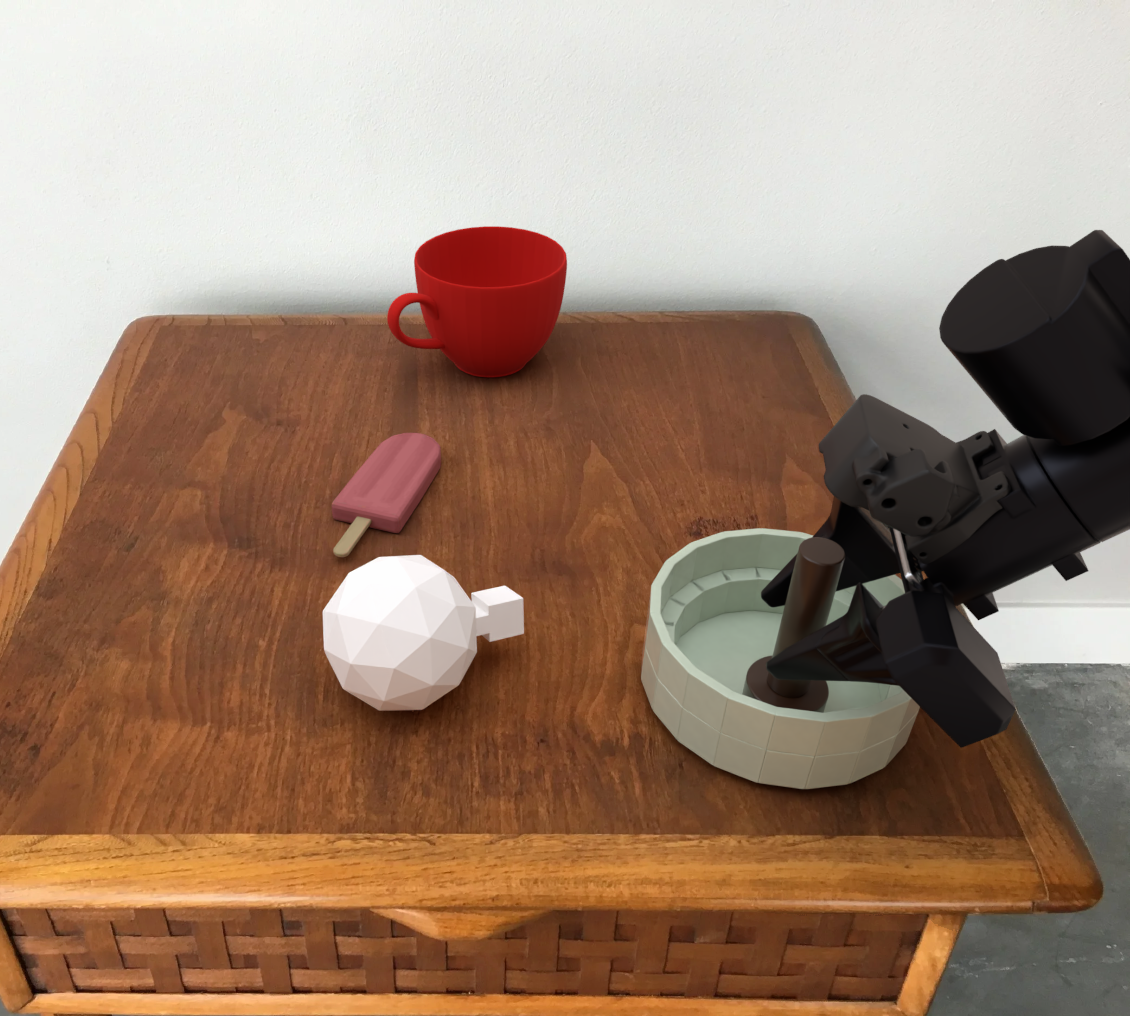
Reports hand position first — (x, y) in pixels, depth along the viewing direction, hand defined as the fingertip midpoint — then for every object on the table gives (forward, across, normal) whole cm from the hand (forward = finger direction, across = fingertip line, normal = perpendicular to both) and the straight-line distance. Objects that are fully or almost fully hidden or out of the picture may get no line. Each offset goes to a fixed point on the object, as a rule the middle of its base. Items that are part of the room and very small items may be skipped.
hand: (767, 634), depth 54 cm
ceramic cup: (+21, -38, -11) cm, 44 cm away
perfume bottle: (+18, 0, -8) cm, 20 cm away
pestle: (+3, 0, +5) cm, 6 cm away
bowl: (+4, -2, +6) cm, 7 cm away
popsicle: (+23, -16, -13) cm, 31 cm away
